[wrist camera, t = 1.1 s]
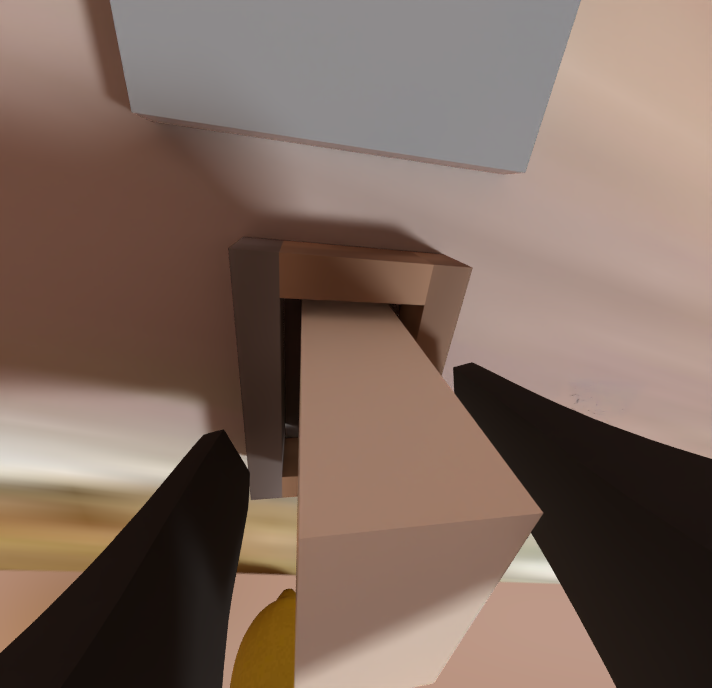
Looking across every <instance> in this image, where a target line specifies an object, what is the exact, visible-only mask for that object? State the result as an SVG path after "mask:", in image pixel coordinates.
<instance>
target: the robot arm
mask: <svg viewBox="0 0 712 688" xmlns="http://www.w3.org/2000/svg"><path fill="white" fill-rule="evenodd" d="M453 374H454V394H455V395H456V396H457V398H458V399H459V400H460V402H461V403H462V404H463V406H464V407H465V408H466V410H467V411H468V412H469V414H470V415H471V416H472V418H473V419H474V420H475V422H476V423H477V424H478V426H479V427H480V429H481V430H482V431H483V433H484V434H485V435H486V437H487V438H488V439H489V441H490V442H491V443H492V445H493V446H494V447H495V449H496V450H497V451H498V453H499V454H500V455H501V457H502V458H503V459H504V461H505V462H506V464H507V465H508V466H509V468H510V469H511V470H512V472H513V473H514V474H515V476H516V477H517V478H518V480H519V481H520V482H521V484H522V485H523V486H524V488H525V489H526V490H527V492H528V493H529V494H530V496H531V497H532V498H533V500H534V501H535V503H536V504H537V505H538V507H539V508H540V509H541V511H542V512H543V514H542V516H541V517H540V519H539V521H538V522H537V524H536V525H535V527H534V528H533V530H532V531H531V533H532V535H533V537H534V539H535V540H536V542H537V544H538V545H539V547H540V549H541V551H542V552H543V554H544V556H545V557H546V559H547V561H548V563H549V564H550V566H551V568H552V569H553V571H554V573H555V575H556V577H557V578H558V580H559V582H560V584H561V585H562V587H563V589H564V591H565V593H566V594H567V596H568V598H569V600H570V602H571V603H572V605H573V607H574V609H575V611H576V612H577V614H578V616H579V618H580V620H581V622H582V623H583V625H584V627H585V629H586V631H587V633H588V635H589V636H590V638H591V640H592V642H593V644H594V646H595V647H596V650H597V651H598V653H599V655H600V657H601V659H602V661H603V662H604V664H605V666H606V668H607V670H608V672H609V674H610V676H611V678H612V680H613V682H614V684H615V685H616V688H712V459H710V458H707V457H704V456H700V455H697V454H694V453H690V452H687V451H684V450H681V449H677V448H674V447H671V446H668V445H665V444H662V443H659V442H656V441H653V440H650V439H647V438H644V437H642V436H639V435H636V434H633V433H631V432H628V431H625V430H622V429H619V428H617V427H614V426H611V425H608V424H606V423H603V422H601V421H598V420H596V419H593V418H591V417H588V416H586V415H583V414H581V413H579V412H576V411H574V410H572V409H569V408H567V407H565V406H562V405H560V404H558V403H555V402H553V401H551V400H549V399H547V398H544V397H542V396H540V395H538V394H536V393H534V392H532V391H529V390H527V389H525V388H523V387H521V386H519V385H517V384H515V383H513V382H511V381H509V380H507V379H505V378H503V377H501V376H499V375H497V374H495V373H493V372H491V371H489V370H487V369H485V368H483V367H481V366H479V365H477V364H474V363H468V364H464V365H460V366H457V367H453ZM249 486H250V472H249V470H248V469H247V467H246V465H245V464H244V462H243V460H242V459H241V457H240V455H239V454H238V452H237V450H236V449H235V447H234V445H233V444H232V442H231V440H230V439H229V437H228V435H227V434H226V432H225V430H224V429H223V430H220V431H216V432H212V433H208V434H205V435H203V436H202V437H201V438H200V439H199V441H198V442H197V443H196V444H195V445H194V446H193V447H192V449H191V450H190V451H189V452H188V453H187V454H186V456H185V457H184V458H183V459H182V460H181V462H180V463H179V464H178V465H177V466H176V468H175V469H174V470H173V471H172V473H171V474H170V475H169V476H168V477H167V479H166V480H165V481H164V482H163V483H162V484H161V486H160V487H159V488H158V489H157V490H156V492H155V493H154V494H153V495H152V496H151V498H150V499H149V500H148V501H147V502H146V504H145V505H144V506H143V507H142V508H141V509H140V510H139V512H138V513H137V514H136V515H135V516H134V517H133V518H132V519H131V521H130V522H129V523H128V524H127V525H126V526H125V527H124V528H123V530H122V531H121V532H120V533H119V534H118V535H117V536H116V537H115V539H114V540H113V541H112V542H111V543H110V544H109V545H108V546H107V548H106V549H105V550H104V551H103V552H102V553H101V554H100V555H99V556H98V557H97V558H96V559H95V560H94V562H93V563H92V564H91V565H90V566H89V567H88V568H87V569H86V570H85V571H84V572H83V573H82V574H81V575H80V576H79V577H78V578H77V579H76V580H75V581H74V582H73V584H71V585H70V586H69V587H68V588H67V589H66V590H65V591H64V592H63V593H62V594H61V596H59V597H58V598H57V599H56V601H54V602H53V603H52V605H50V606H49V608H47V609H46V610H45V611H44V612H43V613H42V614H41V615H40V616H39V617H38V618H37V619H36V620H35V621H34V622H33V623H32V624H31V625H30V626H29V627H28V628H27V629H26V630H25V631H24V632H22V633H21V634H20V635H19V636H18V637H17V638H16V639H15V640H14V641H13V642H12V643H11V644H10V645H9V646H7V647H6V648H5V649H4V650H3V651H2V652H1V653H0V688H222V682H223V670H224V660H225V649H226V640H227V629H228V620H229V613H230V606H231V599H232V593H233V588H234V583H235V577H236V572H237V566H238V561H239V556H240V550H241V545H242V539H243V534H244V528H245V523H246V517H247V511H248V502H249Z"/></svg>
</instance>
